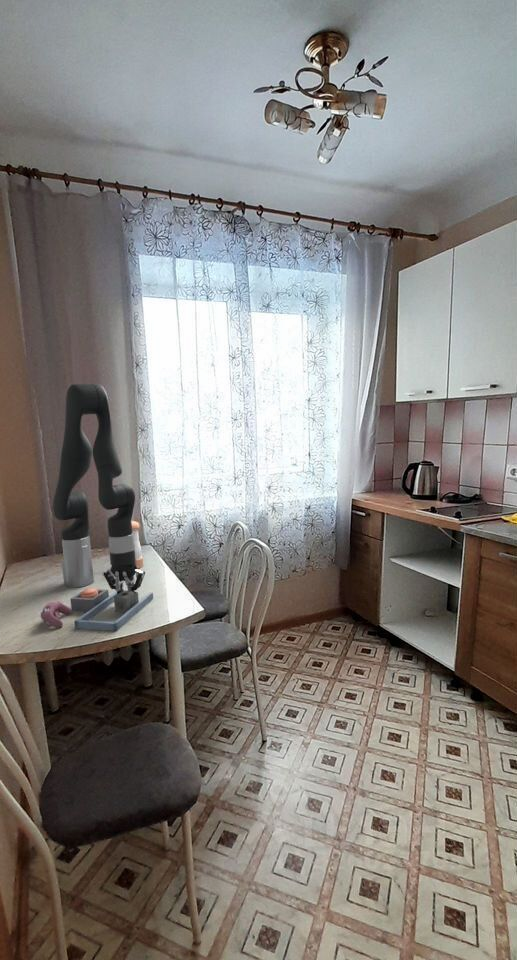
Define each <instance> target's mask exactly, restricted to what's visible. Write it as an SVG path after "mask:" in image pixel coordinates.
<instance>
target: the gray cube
mask: <svg viewBox="0 0 517 960" xmlns="http://www.w3.org/2000/svg"><path fill="white" fill-rule="evenodd" d="M139 601H140V600H139V592H138V591H135V592H133V591H128V589H124V591H123V592H121V593H119V594H117V595H115V596H114V602H113V603H114V604H113V605H114V612H115V613H119V614H122V615H124V614H125V613H126V612H127V611H129V610H130V609H131V608H132V607H133V606H135V605H136V604H137V603H138V602H139Z"/></svg>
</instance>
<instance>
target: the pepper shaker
mask: <svg viewBox="0 0 517 960" xmlns="http://www.w3.org/2000/svg"><path fill="white" fill-rule="evenodd" d="M131 523H132V533H133V538H134V545H135V558H136V562H135V565H136V567H137V570H139V569H141V568H143V567H144V557H143V556H142V547H141V543H140V538H139V529H140V527H141V525H140V523H139V522H138V521H135V520H131Z"/></svg>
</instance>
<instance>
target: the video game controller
mask: <svg viewBox="0 0 517 960" xmlns="http://www.w3.org/2000/svg"><path fill="white" fill-rule="evenodd" d="M61 614H62V615H67V616H68V615H69V616H71V615H72V614H73V611H72V610H71V607H69V606H67V605H66V604H64V603H62V602H61V601H60V600H57V599H55V600H52V601H50V602H48V603H47V604H45V606H44V607H43V609H42V611H41V612H40V617H41V620H42V621H43V622H44V623H47V625H49V626H51V627H53V628H57V629H58V628H59V629H60V628H62V627H63V625H64V622H62V620H61V619H60V618H61Z"/></svg>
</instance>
